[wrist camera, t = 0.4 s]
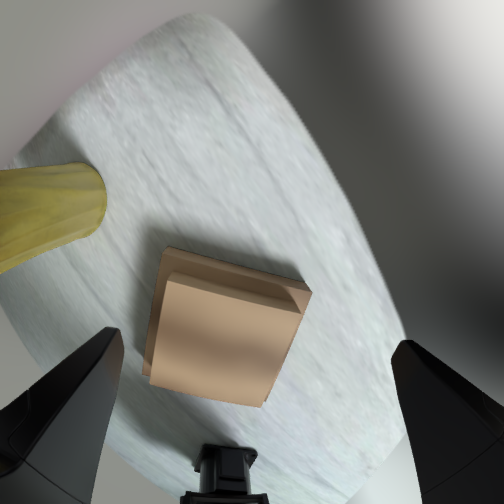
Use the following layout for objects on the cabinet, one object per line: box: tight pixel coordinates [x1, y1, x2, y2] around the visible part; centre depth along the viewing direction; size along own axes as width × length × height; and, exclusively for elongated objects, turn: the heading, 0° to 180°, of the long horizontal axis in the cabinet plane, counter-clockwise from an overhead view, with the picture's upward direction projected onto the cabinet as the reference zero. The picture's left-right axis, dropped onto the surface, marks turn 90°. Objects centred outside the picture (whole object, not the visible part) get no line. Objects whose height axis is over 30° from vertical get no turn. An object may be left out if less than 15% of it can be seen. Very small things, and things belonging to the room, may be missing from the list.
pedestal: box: [142, 246, 312, 408], centre depth 21 cm, size 11×11×4 cm
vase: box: [0, 162, 107, 274], centre depth 13 cm, size 6×6×14 cm
